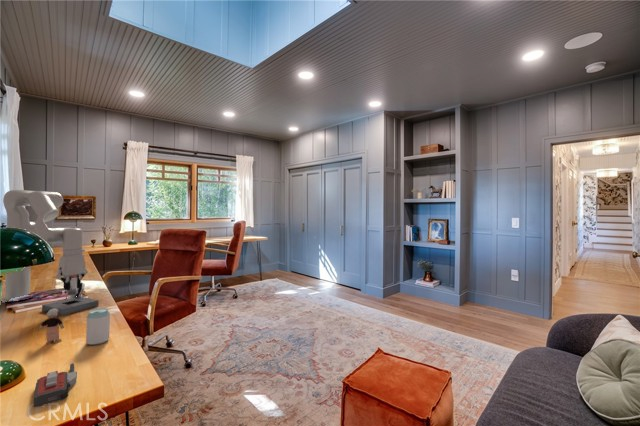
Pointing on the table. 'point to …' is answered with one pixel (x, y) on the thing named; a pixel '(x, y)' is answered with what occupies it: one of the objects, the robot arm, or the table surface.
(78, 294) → the grey curved electronic device
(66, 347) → the table surface
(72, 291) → the pin
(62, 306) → the socket block
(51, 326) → the grandmother figurine
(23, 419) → the table surface
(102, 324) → the can
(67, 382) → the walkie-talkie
